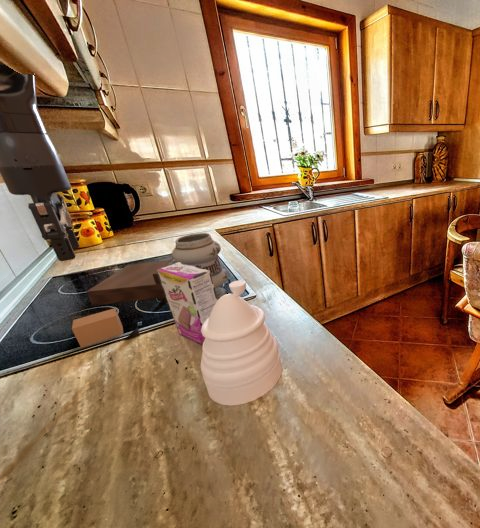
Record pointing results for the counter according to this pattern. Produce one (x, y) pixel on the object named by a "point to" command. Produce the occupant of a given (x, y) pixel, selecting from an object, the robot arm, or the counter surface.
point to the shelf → (131, 284)
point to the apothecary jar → (202, 257)
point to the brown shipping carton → (99, 328)
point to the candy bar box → (188, 297)
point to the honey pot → (238, 351)
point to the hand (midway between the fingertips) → (70, 253)
